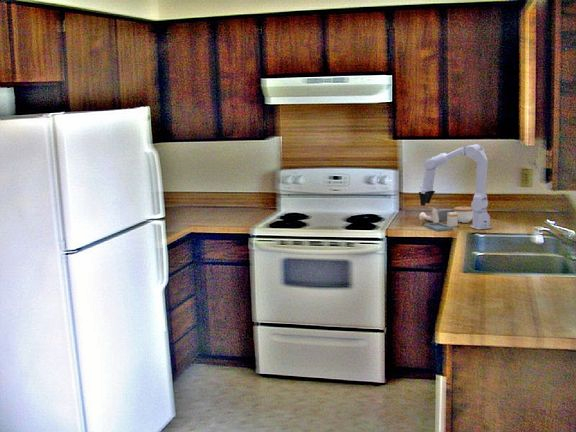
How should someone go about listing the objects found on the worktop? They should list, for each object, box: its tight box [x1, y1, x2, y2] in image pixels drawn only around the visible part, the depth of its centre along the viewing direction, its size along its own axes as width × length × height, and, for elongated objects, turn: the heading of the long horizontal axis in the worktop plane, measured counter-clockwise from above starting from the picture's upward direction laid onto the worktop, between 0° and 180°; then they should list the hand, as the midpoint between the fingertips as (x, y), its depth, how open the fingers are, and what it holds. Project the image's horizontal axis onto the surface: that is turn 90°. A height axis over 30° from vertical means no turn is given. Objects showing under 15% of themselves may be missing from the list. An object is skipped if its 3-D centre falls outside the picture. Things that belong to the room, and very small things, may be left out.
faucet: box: [418, 206, 439, 223], centre depth 421 cm, size 4×18×10 cm, turn 19°
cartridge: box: [446, 211, 459, 227], centre depth 406 cm, size 4×4×7 cm
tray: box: [423, 222, 454, 232], centre depth 400 cm, size 15×9×2 cm, turn 17°
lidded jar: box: [453, 204, 473, 224], centre depth 415 cm, size 11×11×9 cm
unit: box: [436, 208, 453, 222], centre depth 422 cm, size 6×9×6 cm, turn 107°
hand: (425, 204), depth 414 cm, fingers open, 7 cm apart
